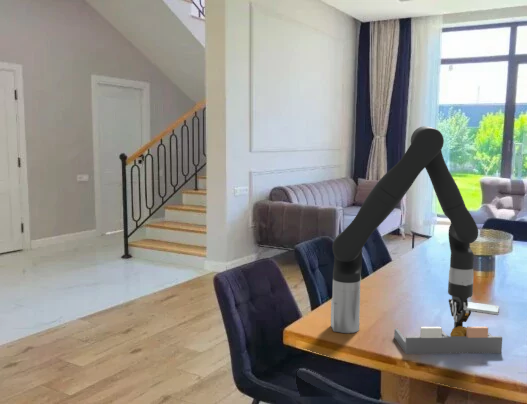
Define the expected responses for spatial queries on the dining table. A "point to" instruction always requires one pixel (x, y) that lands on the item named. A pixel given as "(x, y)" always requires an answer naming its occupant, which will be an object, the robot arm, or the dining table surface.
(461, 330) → the bagel
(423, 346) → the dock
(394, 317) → the dining table surface
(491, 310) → the hard drive
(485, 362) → the dining table surface
